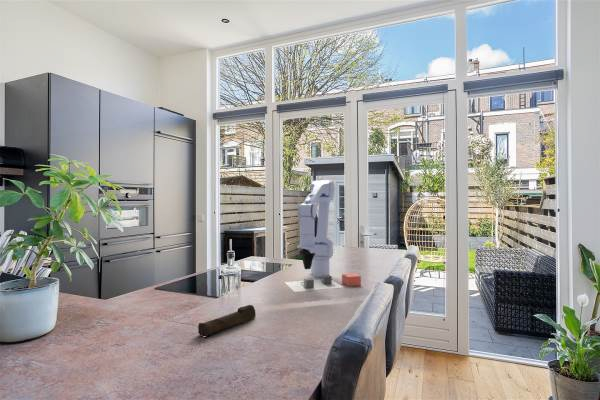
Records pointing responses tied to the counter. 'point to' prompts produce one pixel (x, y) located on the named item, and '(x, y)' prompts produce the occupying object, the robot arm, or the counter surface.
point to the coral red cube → (351, 279)
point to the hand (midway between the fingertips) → (307, 268)
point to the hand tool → (227, 321)
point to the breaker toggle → (309, 283)
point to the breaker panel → (318, 284)
